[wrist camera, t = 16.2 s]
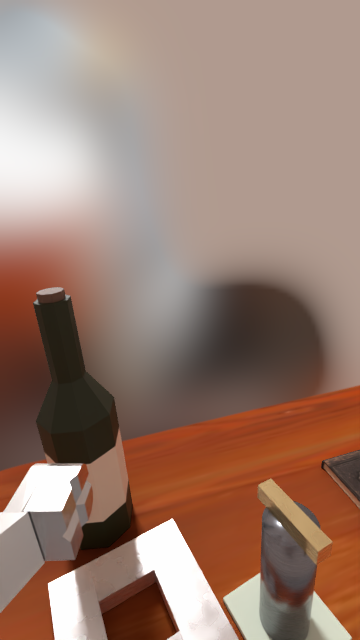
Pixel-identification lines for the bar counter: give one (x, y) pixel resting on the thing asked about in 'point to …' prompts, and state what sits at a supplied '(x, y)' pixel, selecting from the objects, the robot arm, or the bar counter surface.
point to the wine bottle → (82, 422)
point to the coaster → (243, 606)
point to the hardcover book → (346, 473)
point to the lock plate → (139, 589)
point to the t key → (288, 563)
